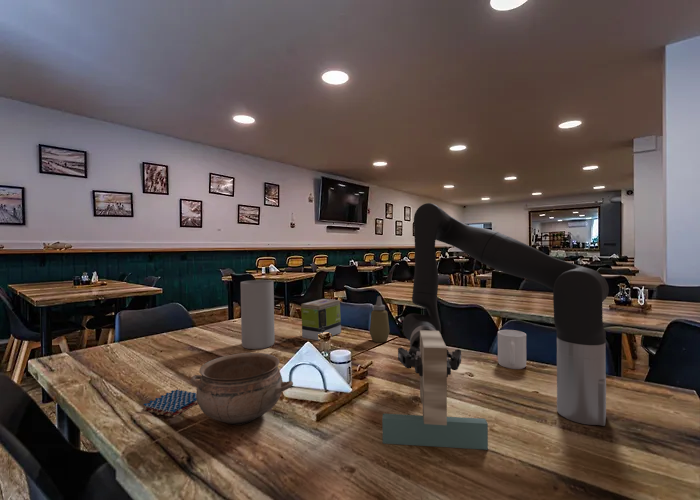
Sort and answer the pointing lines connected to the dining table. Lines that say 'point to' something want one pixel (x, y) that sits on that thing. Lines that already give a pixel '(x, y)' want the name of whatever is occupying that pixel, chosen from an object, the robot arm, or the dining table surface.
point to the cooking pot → (239, 387)
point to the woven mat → (172, 403)
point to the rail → (435, 432)
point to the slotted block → (433, 377)
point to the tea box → (320, 318)
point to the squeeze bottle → (379, 322)
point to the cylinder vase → (257, 314)
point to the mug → (512, 349)
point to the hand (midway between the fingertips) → (433, 371)
